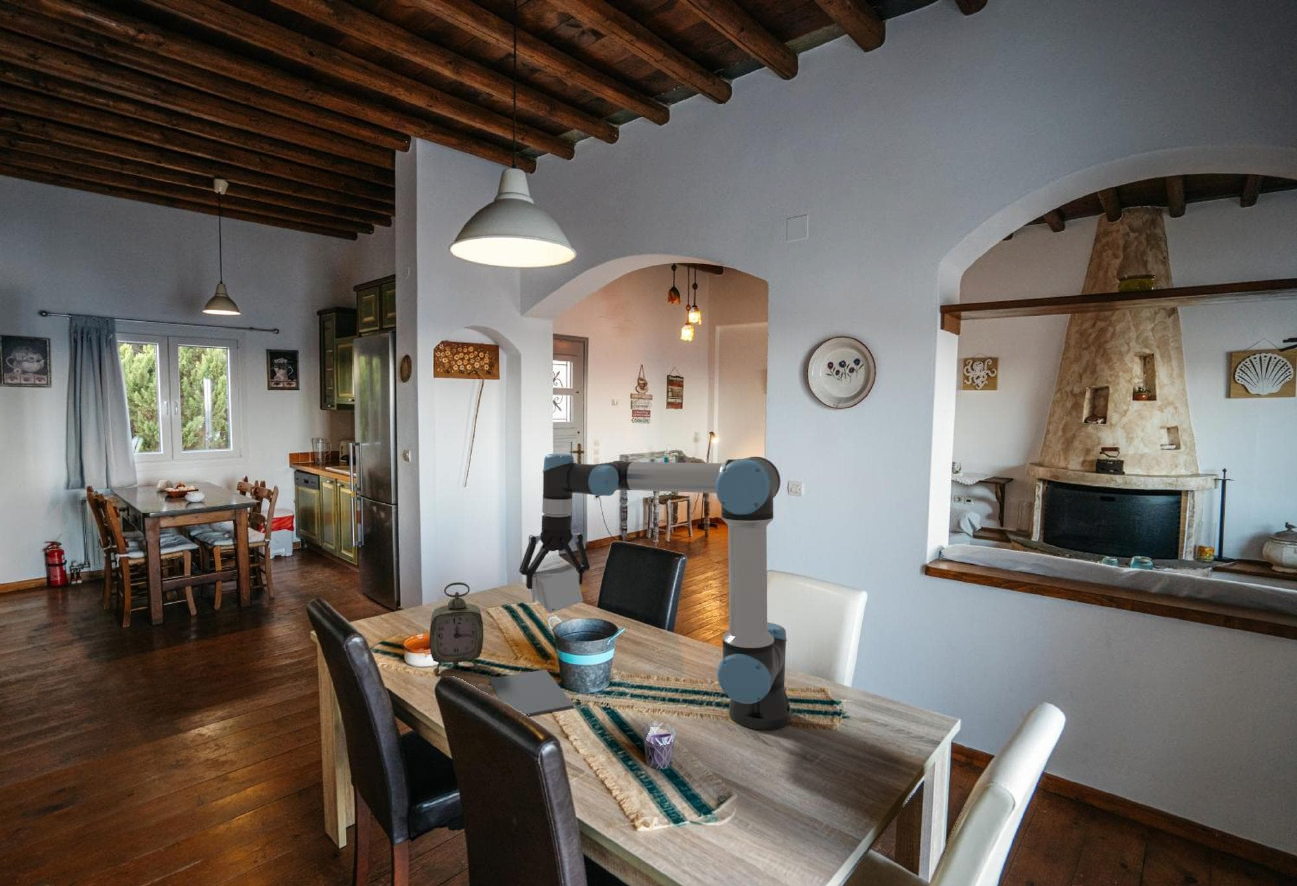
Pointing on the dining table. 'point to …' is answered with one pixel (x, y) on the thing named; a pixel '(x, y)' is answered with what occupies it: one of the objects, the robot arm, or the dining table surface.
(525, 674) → the mat
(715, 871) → the dining table surface
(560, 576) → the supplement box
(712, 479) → the robot arm
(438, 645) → the tabletop clock
